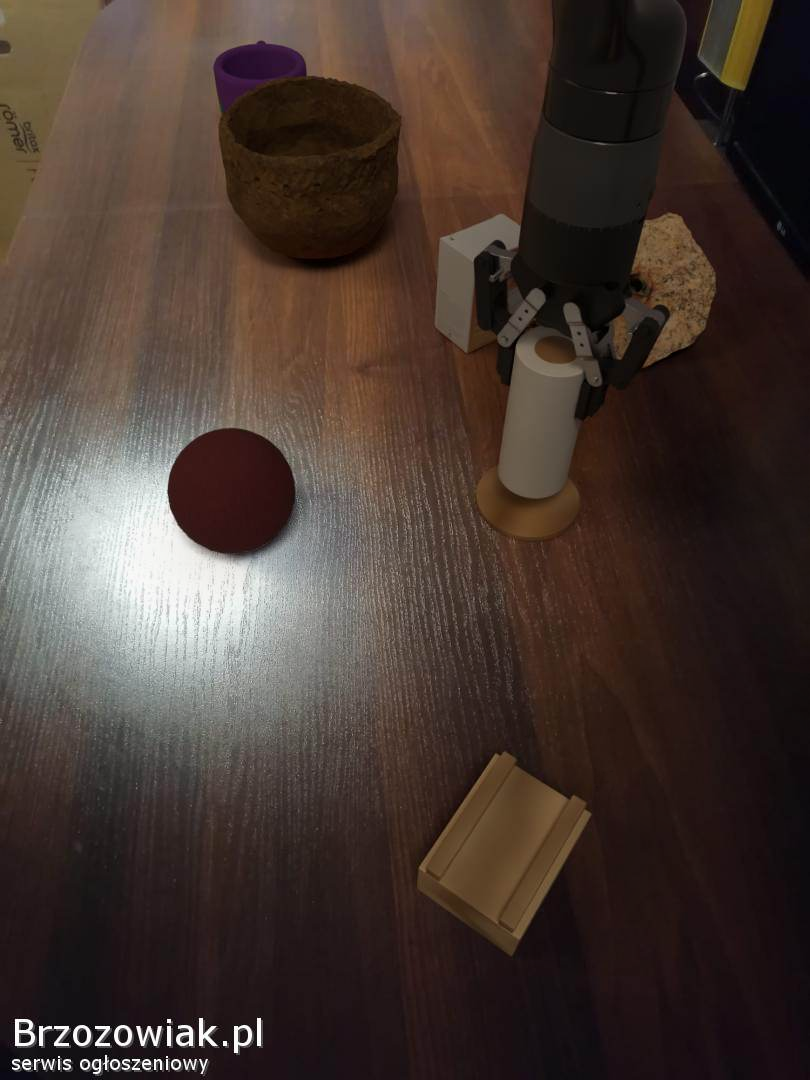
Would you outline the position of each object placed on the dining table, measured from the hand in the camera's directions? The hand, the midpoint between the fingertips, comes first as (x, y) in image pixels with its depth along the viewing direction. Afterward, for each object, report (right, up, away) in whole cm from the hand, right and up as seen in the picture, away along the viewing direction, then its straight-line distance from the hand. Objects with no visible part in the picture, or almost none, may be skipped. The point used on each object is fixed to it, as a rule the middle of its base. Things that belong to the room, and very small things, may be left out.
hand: (547, 395), depth 65 cm
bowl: (-21, +23, +33) cm, 46 cm away
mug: (-29, +44, +50) cm, 72 cm away
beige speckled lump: (+11, +11, +25) cm, 29 cm away
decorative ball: (-25, -10, +7) cm, 28 cm away
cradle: (-5, -32, -10) cm, 34 cm away
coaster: (0, -8, +10) cm, 12 cm away
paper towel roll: (0, -1, +2) cm, 2 cm away
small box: (-3, +11, +25) cm, 27 cm away
